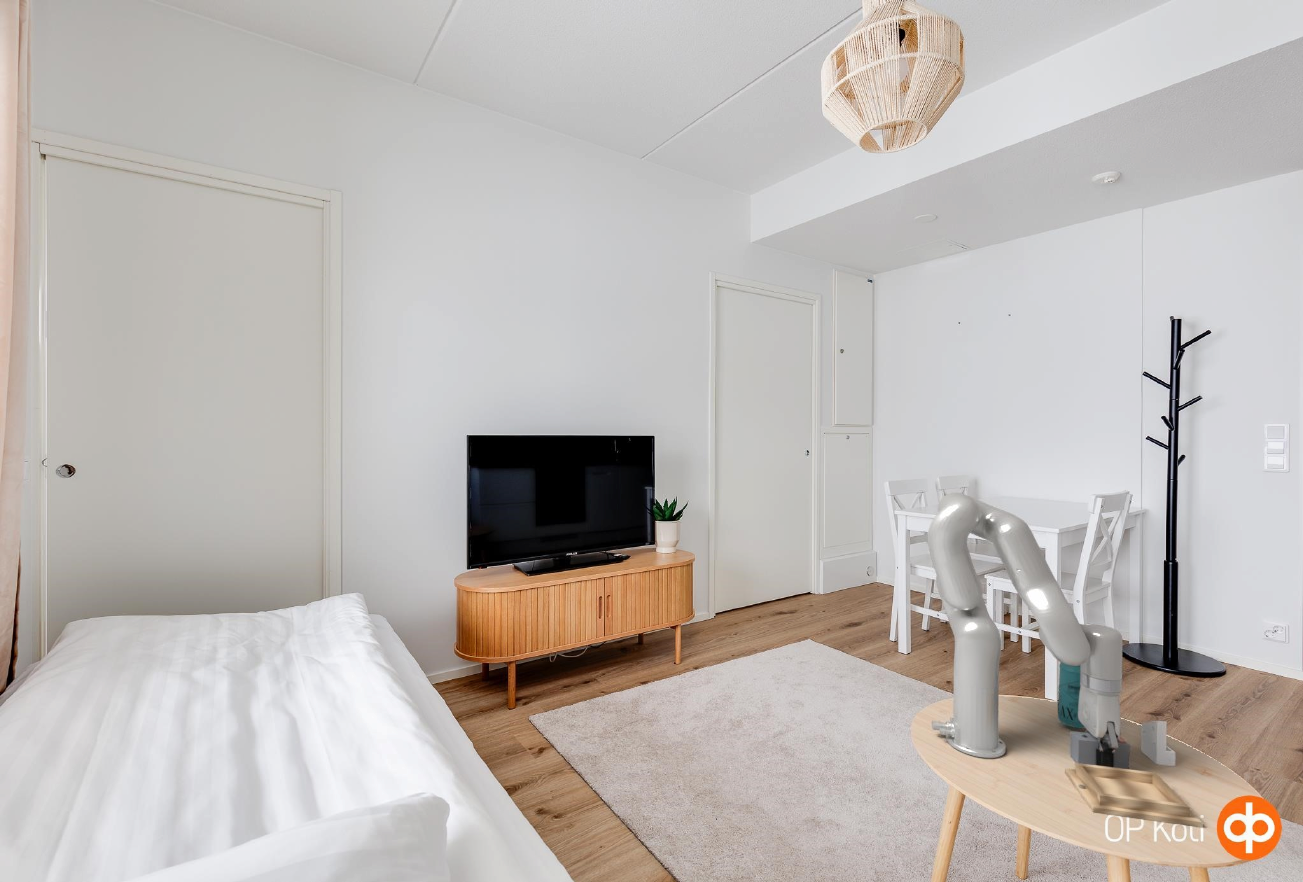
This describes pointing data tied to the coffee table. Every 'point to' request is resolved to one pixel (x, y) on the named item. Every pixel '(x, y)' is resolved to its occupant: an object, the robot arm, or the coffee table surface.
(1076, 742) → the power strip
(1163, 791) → the wooden tray
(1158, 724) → the white wedge bracket
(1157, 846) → the coffee table surface
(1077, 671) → the beverage bottle
